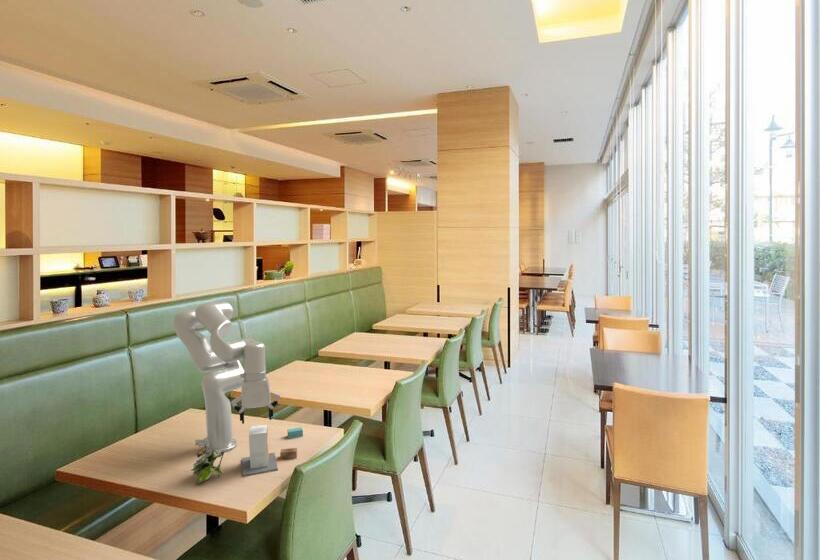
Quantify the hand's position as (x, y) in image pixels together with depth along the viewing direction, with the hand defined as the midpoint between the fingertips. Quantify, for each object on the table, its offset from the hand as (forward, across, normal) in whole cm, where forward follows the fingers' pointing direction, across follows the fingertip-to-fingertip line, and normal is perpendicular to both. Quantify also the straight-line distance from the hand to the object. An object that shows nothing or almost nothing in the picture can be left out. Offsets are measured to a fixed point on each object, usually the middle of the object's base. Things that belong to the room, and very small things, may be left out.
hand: (256, 420), depth 175 cm
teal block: (+17, +16, +20) cm, 31 cm away
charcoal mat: (+17, 0, -1) cm, 17 cm away
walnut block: (+17, +11, +1) cm, 21 cm away
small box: (+17, +1, -1) cm, 17 cm away
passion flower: (+18, -17, -3) cm, 24 cm away
